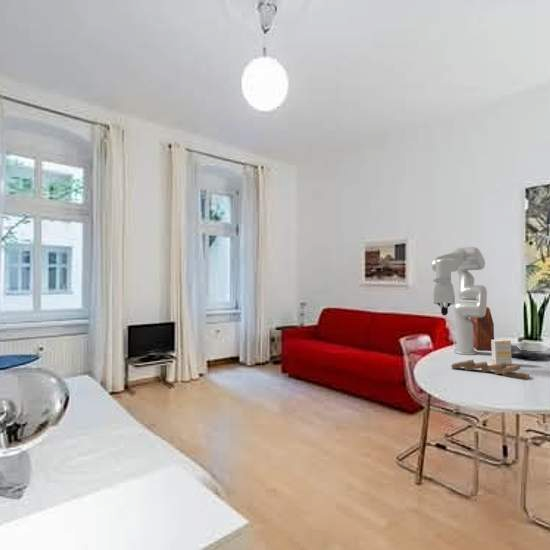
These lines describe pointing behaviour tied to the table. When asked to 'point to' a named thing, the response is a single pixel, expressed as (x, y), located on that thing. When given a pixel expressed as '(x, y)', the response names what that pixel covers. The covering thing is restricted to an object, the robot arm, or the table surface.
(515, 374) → the domino
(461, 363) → the domino
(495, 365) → the domino
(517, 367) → the domino
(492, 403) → the table surface
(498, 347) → the supplement box
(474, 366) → the domino
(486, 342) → the handbag
